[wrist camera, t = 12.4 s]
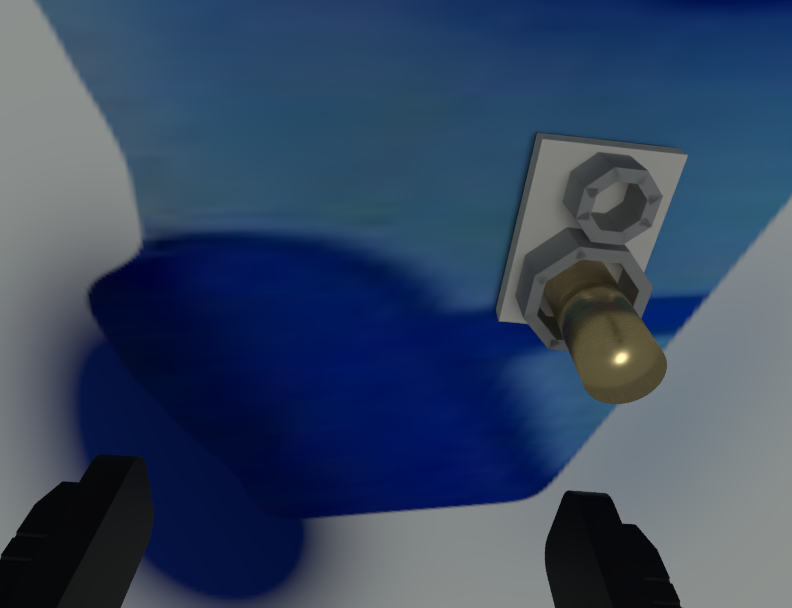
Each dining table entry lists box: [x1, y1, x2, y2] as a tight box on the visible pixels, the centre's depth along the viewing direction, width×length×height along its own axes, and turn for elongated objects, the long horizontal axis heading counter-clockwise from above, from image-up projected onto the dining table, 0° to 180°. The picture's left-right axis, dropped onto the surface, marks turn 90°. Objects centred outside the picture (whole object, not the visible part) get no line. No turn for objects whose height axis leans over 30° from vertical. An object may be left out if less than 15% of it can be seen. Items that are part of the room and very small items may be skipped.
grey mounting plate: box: [496, 133, 688, 351], centre depth 37 cm, size 13×9×4 cm
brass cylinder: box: [544, 259, 667, 404], centre depth 34 cm, size 4×4×10 cm
